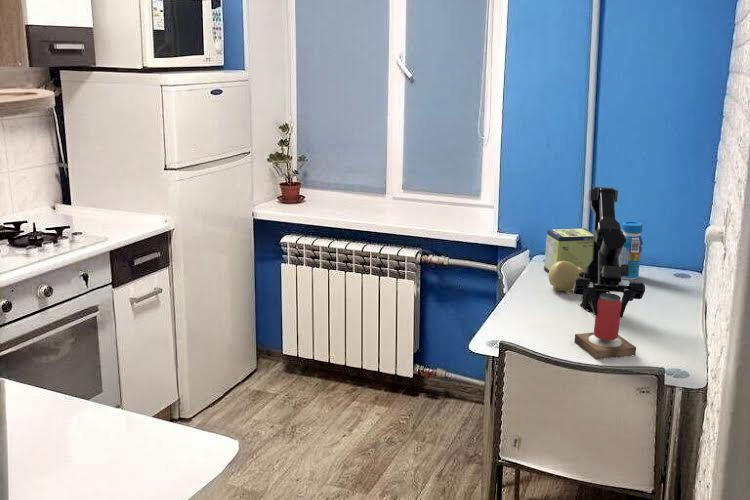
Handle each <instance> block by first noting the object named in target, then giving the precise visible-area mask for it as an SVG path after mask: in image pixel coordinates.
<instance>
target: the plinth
mask: <svg viewBox="0 0 750 500" xmlns="http://www.w3.org/2000/svg"><path fill="white" fill-rule="evenodd" d="M573 342H574V344H576V345H577V346H578V347H580V348H581V349H582V350H583V351H585V352H586V353H587V354H589V355H590V356H591V357H592V358H593V359H595V360H605V359H613V358H614V359H615V358H616V357H617V358H625V357H624V356H627V357H633V356H632V355H635V356H636V352H637V346H636V345H633V343H631V342H629V341H628V340H627V339H625V338H624V337H622V336H621V335H619V334H618V337H617V339H615V340H610V341H607V340H601V339H599V338H597V337H596V336H595V335H594V332H585V333H583V332H582V333H575V334H574V341H573ZM604 358H605V359H604Z"/></svg>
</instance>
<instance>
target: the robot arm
mask: <svg viewBox="0 0 750 500" xmlns="http://www.w3.org/2000/svg"><path fill="white" fill-rule="evenodd" d="M618 194H619V190H617V189H614V187H605V186H603V187H602V186H593V188H590V189H589V191H588V201H589V207H590V209H591V211H592V213H593V215H594V219H593V232H592V233H593V249H592V261H591V262H590V263H589V265H588V266H587V268H586V272H584V275H583V278H576V279H575V283H574V288H573V289H572V290H573V292H572V293H573V294H574V295H580V296H581V303H580V304H579V306H581V307H582V308H583V309H585V310H586V311H588V312H590V313H591V312H592V313H593V315H594V317H595V316H596V315H597V301H598V299H599V297H600V294H603V293H613V292H614V293H622V294H623V295H622V297H621V299H620V300H621V304H622V308H621V316H620V319H622V318H623V316H624V313H625V310H626V307H627V305H628V303H629V302H633V300H641V299H642V298H643V296H644V294H645V293H646V285H645V284H644V282H642V281H632V280H631V281H630V280H629V284H628V285H621V284H620V283H621V282H622V279H621V277H622V276H628V275H629V265H627V264H622V265H621V267H619V256H620V254H621V252H622V249H623V246H624V243H626V237H625V235H624V234H623V233H624V232H623V231H622V229H621V227H622V226H621V223H620V222H618V220H616V210H615V209H616V208H615V203H618V199H619V198H618V197H619V195H618Z"/></svg>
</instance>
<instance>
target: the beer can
mask: <svg viewBox="0 0 750 500" xmlns="http://www.w3.org/2000/svg"><path fill="white" fill-rule="evenodd" d="M621 300H622V297H621V296H620V295H618V294H615V293H613V292H610V293H603V294H600V297H599V299H598V301H597V315H596V316H595V315H594V317H595V318H594V326H593V333H594V335H595V336H596V337H597V338H599V339H601V340H607V341H610V340H615V339H617V337H618V335H619V333H620V331H619V330H620V323H621V317H620V316H621V308H622V304H621Z"/></svg>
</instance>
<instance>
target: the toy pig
mask: <svg viewBox="0 0 750 500" xmlns="http://www.w3.org/2000/svg"><path fill="white" fill-rule="evenodd" d="M583 275H584V270H583V269H582V268H580V267H577V266H576V265H574V264H573V263H571V262H568V261H559V262H556V263H555V264H553V265H552V267H551V268H550V270H549V273H548V276H547V277H548V281H549V283H550V285H551V286H552V288H553V290H555V291H556V290H559V291H563V292H566V294H571V291H572V290H573V288H574V283H575V279H576V278H583Z"/></svg>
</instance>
